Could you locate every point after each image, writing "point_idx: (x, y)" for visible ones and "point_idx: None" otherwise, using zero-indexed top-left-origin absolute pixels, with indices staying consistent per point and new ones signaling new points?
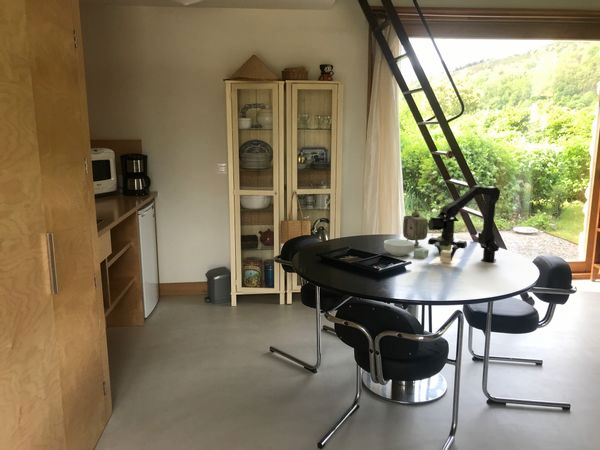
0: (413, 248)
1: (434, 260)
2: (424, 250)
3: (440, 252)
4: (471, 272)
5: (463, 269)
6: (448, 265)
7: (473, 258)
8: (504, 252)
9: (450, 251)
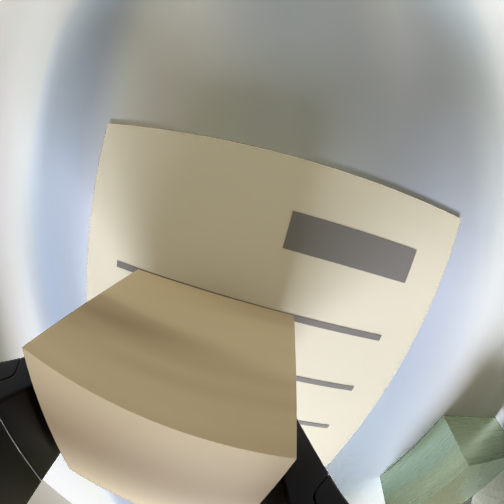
0: (493, 485)
1: (355, 400)
2: (439, 498)
3: (293, 469)
4: (14, 54)
5: (36, 102)
6: (162, 190)
7: None
8: (45, 479)
9: (84, 464)
